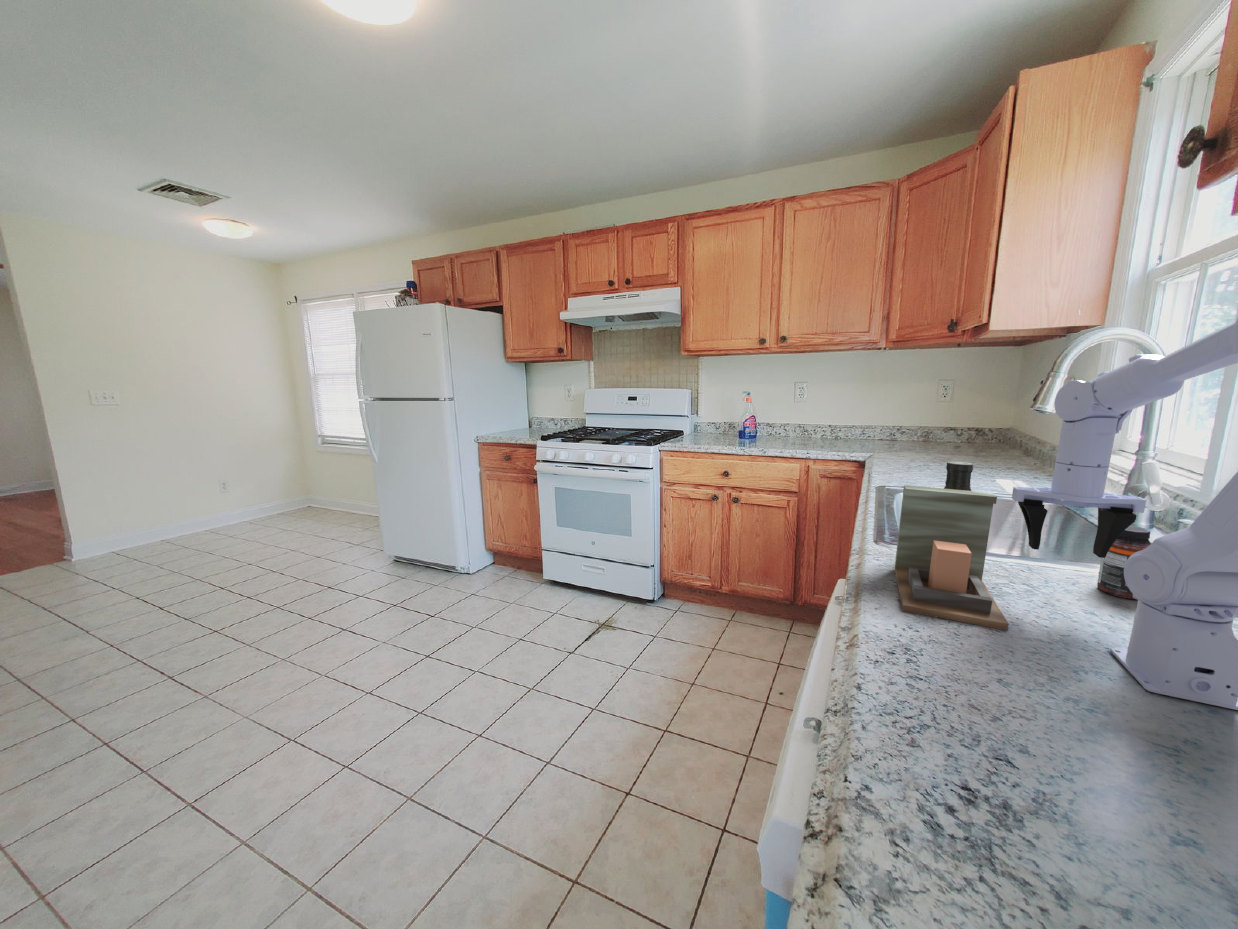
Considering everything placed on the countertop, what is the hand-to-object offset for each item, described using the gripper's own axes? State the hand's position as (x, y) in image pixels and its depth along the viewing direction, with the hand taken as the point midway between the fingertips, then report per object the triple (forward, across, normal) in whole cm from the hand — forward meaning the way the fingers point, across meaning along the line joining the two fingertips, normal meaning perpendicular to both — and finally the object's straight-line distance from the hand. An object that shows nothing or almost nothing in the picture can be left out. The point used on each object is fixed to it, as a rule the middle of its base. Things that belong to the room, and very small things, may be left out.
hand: (1065, 551), depth 73 cm
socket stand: (+9, +15, +2) cm, 18 cm away
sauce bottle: (+10, +12, -14) cm, 21 cm away
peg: (+8, +15, +4) cm, 18 cm away
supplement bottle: (+10, -12, -12) cm, 19 cm away
